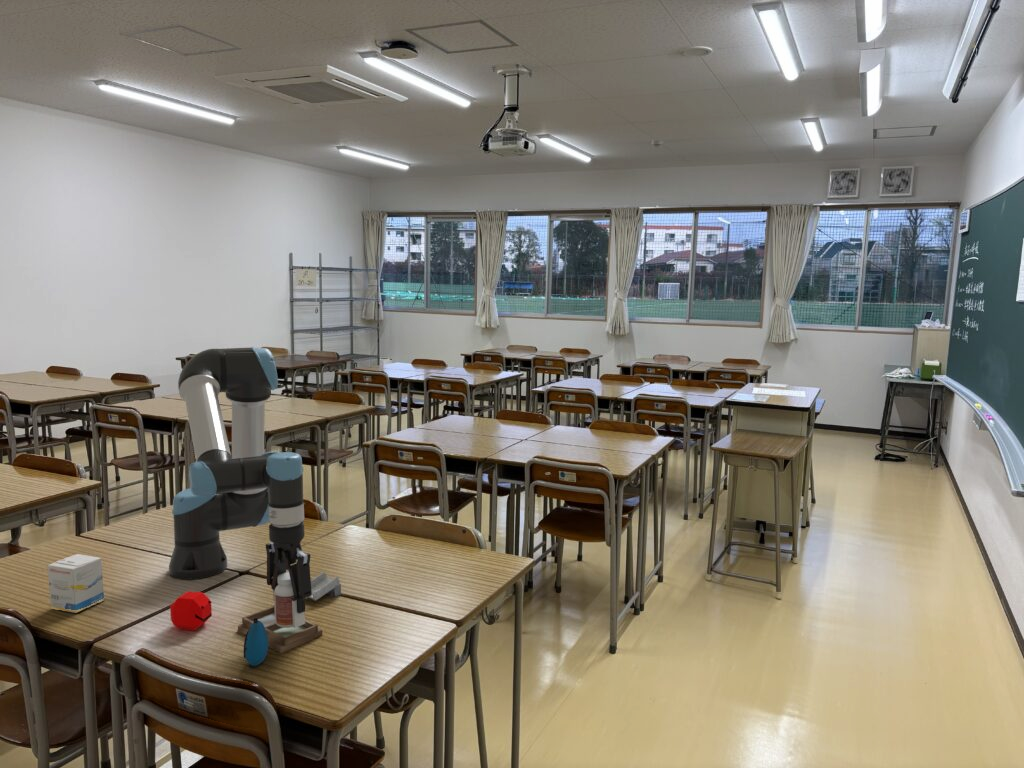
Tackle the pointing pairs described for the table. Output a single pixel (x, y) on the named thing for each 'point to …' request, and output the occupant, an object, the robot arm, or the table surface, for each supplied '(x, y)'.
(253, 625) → the ornament
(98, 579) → the ink box
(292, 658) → the table surface
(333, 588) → the feeder chute
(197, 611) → the ball
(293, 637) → the divided sorting tray
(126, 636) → the table surface
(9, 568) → the table surface
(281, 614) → the pill bottle
